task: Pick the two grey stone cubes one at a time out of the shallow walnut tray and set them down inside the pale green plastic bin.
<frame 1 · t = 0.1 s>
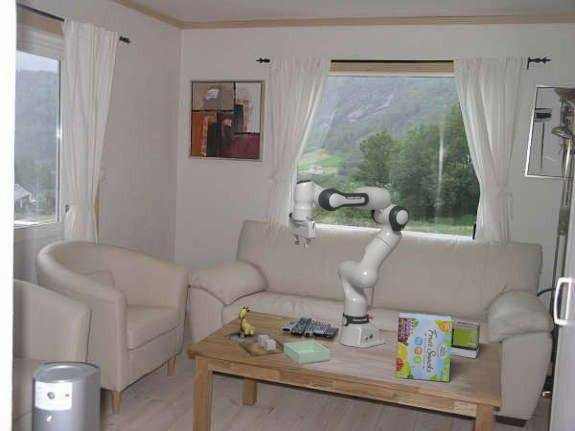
hand: (301, 246, 275), 48 cm above the table, tool pointing down, fingers open, 8 cm apart
snack box: (421, 377, 252), on the table
walnut tray: (264, 348, 279), on the table
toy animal: (248, 337, 296), on the table
green bin: (306, 357, 269), on the table
stone cube 1: (269, 349, 275), point 1 cm above the table, touching walnut tray
stone cube 2: (263, 344, 282), point 1 cm above the table, touching walnut tray
tea box: (460, 353, 284), on the table
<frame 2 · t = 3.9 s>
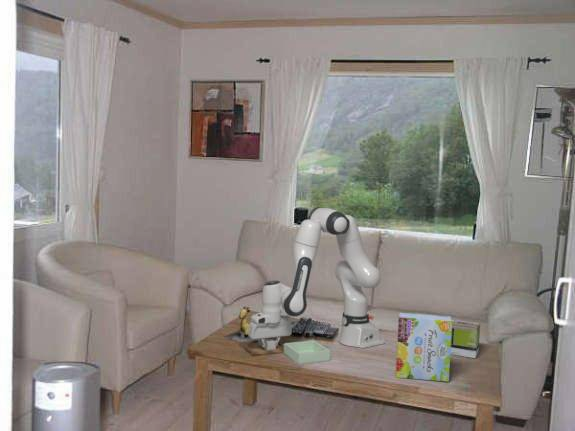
hand: (269, 346, 275), 2 cm above the table, tool pointing down, fingers closed on stone cube 1, 4 cm apart
stone cube 1: (269, 349, 275), point 1 cm above the table, touching gripper, walnut tray
everything else where it was.
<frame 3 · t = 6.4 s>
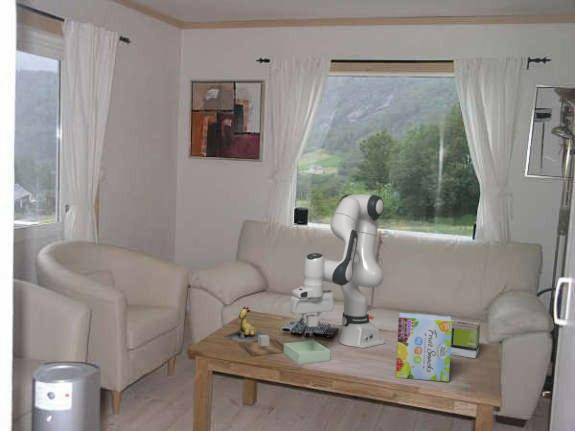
hand: (311, 322, 265), 17 cm above the table, tool pointing down, fingers closed on stone cube 1, 4 cm apart
stone cube 1: (311, 325, 265), point 15 cm above the table, touching gripper
everything else where it was.
when the fingers open (4 cm above the table, at t = 9.0 s): stone cube 1 drops 2 cm, resting on green bin.
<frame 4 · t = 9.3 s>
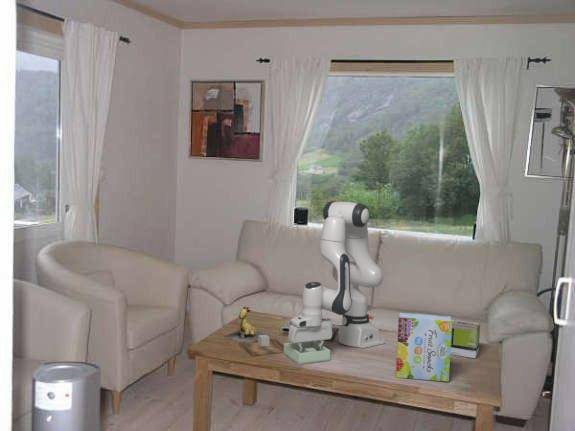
hand: (309, 350, 266), 4 cm above the table, tool pointing down, fingers open, 7 cm apart
stone cube 1: (309, 357, 266), point 1 cm above the table, touching green bin
everything else where it was.
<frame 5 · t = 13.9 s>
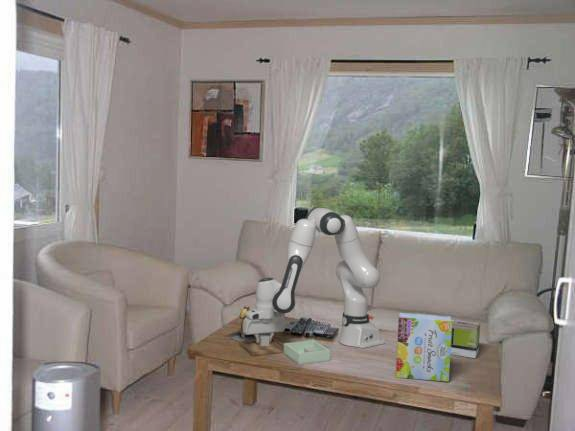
hand: (263, 341, 281), 2 cm above the table, tool pointing down, fingers closed on stone cube 2, 4 cm apart
stone cube 2: (263, 344, 282), point 1 cm above the table, touching gripper, walnut tray
everything else where it was.
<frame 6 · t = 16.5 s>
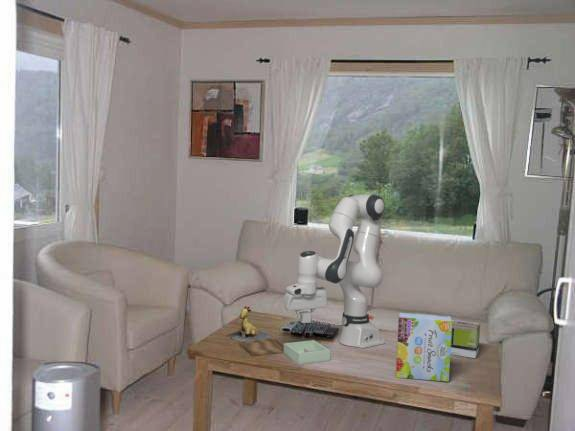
hand: (304, 318, 270), 17 cm above the table, tool pointing down, fingers closed on stone cube 2, 4 cm apart
stone cube 2: (304, 321, 270), point 15 cm above the table, touching gripper
everything else where it was.
when the fingers open (4 cm above the table, at t = 19.1 s): stone cube 2 drops 2 cm, resting on green bin.
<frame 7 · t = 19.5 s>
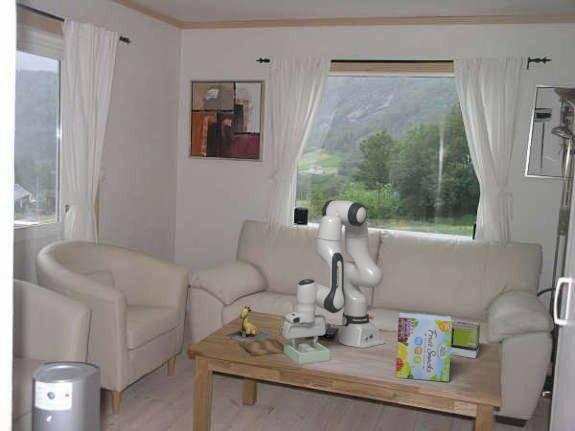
hand: (303, 346, 271), 4 cm above the table, tool pointing down, fingers open, 8 cm apart
stone cube 2: (303, 353, 272), point 1 cm above the table, touching green bin
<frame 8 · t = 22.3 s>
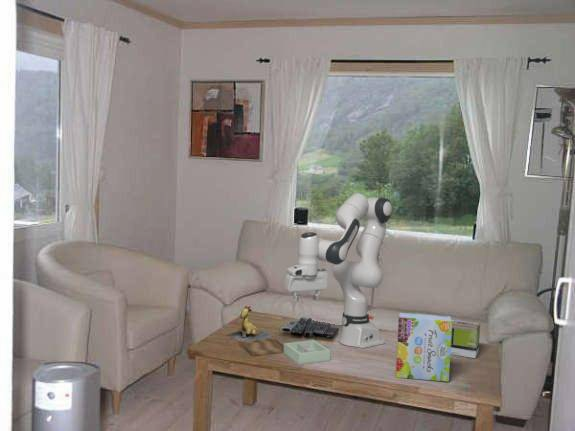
hand: (305, 300, 269), 25 cm above the table, tool pointing down, fingers open, 8 cm apart
at the end: stone cube 1 inside the target area on the green bin (3.1 cm from its centre), point 0.8 cm above the green bin's base; stone cube 2 inside the target area on the green bin (2.9 cm from its centre), point 0.8 cm above the green bin's base; the gripper is holding nothing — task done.
